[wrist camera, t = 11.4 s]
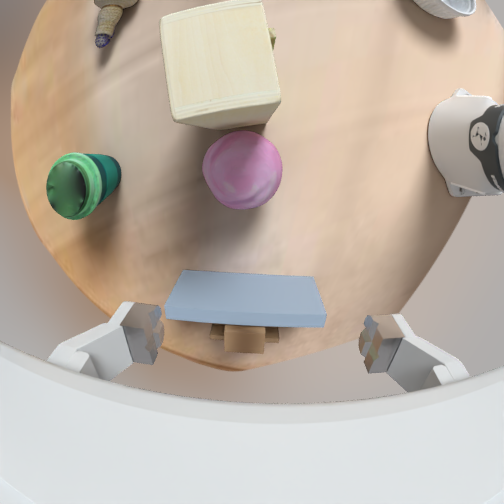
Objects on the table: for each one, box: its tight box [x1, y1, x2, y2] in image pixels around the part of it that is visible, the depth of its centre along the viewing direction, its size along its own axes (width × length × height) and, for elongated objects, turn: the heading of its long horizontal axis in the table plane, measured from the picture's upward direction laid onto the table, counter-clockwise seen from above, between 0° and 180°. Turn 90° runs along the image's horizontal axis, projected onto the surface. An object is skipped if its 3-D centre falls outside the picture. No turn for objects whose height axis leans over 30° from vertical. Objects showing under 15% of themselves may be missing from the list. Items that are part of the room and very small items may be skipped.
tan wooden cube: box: [224, 324, 265, 354], centre depth 36 cm, size 5×4×7 cm
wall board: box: [164, 270, 327, 343], centre depth 38 cm, size 20×8×10 cm, turn 87°
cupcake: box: [202, 130, 282, 209], centre depth 31 cm, size 9×9×10 cm
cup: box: [46, 153, 121, 220], centre depth 30 cm, size 8×8×12 cm
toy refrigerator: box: [159, 0, 281, 131], centre depth 22 cm, size 8×7×21 cm
